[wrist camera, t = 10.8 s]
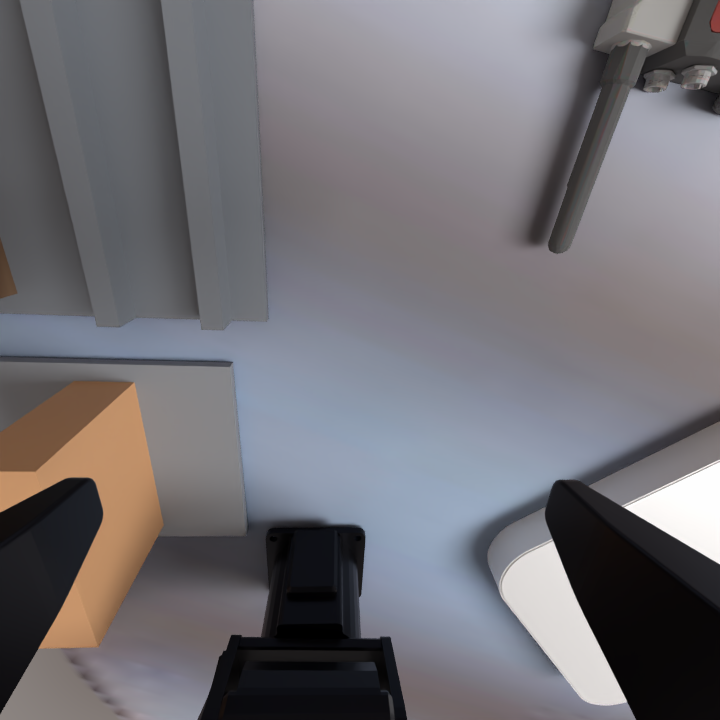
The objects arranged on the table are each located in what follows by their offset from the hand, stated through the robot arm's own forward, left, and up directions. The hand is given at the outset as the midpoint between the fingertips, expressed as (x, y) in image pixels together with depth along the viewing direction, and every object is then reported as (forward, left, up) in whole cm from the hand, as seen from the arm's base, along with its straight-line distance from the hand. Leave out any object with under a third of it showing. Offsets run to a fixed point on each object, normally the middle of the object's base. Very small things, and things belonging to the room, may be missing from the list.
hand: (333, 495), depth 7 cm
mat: (-9, +12, -13) cm, 20 cm away
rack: (+6, +11, -13) cm, 18 cm away
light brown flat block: (-9, +12, -12) cm, 19 cm away
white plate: (-19, -25, -14) cm, 34 cm away
